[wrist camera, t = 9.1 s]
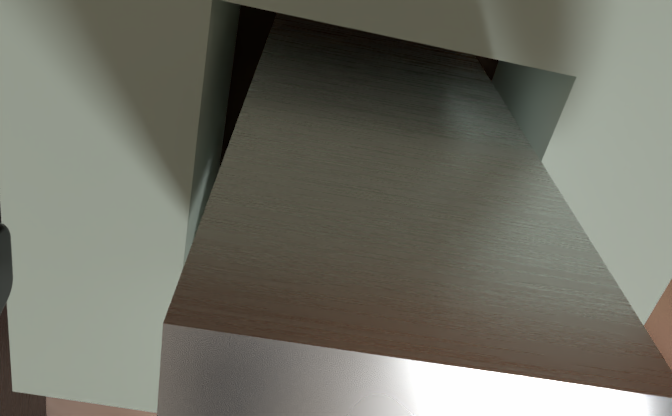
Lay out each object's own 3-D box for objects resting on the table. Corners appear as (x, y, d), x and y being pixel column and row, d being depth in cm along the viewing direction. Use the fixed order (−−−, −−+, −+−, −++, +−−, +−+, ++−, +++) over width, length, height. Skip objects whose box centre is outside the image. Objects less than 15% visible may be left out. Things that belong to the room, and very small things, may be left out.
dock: (514, 349, 18) (556, 472, 14) (80, 276, 17) (12, 391, 13) (735, -119, 12) (897, -102, 8) (85, -285, 11) (-36, -344, 7)
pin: (418, 201, 15) (518, 659, 7) (255, 173, 15) (143, 620, 6) (466, 40, 13) (689, 400, 5) (279, 4, 13) (161, 324, 4)
